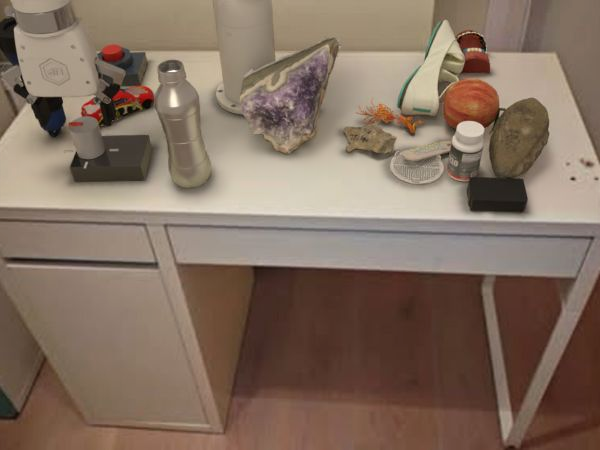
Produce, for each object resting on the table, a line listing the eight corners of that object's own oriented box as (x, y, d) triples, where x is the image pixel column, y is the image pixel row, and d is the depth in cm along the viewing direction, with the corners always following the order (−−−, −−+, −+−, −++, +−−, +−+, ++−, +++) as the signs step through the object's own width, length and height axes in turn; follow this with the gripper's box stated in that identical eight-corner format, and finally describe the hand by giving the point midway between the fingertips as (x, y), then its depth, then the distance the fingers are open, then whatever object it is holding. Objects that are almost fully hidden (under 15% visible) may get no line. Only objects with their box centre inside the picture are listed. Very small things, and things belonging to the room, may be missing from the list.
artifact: (354, 110, 110) (400, 125, 103) (358, 124, 112) (405, 139, 105) (326, 138, 107) (372, 155, 101) (331, 152, 109) (377, 169, 103)
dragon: (417, 141, 108) (417, 127, 105) (352, 127, 112) (351, 113, 108) (424, 121, 110) (425, 107, 107) (360, 108, 113) (359, 94, 110)
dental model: (457, 51, 117) (452, 24, 124) (452, 77, 120) (447, 49, 128) (497, 53, 116) (489, 26, 124) (490, 79, 120) (484, 51, 127)
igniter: (147, 62, 128) (143, 44, 125) (140, 85, 122) (136, 66, 119) (96, 64, 128) (91, 45, 125) (87, 86, 122) (81, 67, 119)
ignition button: (125, 52, 124) (123, 44, 122) (121, 62, 121) (119, 53, 120) (106, 52, 124) (104, 44, 123) (102, 62, 121) (99, 54, 120)
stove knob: (108, 141, 105) (100, 114, 101) (102, 159, 101) (93, 131, 98) (80, 142, 105) (71, 114, 101) (74, 159, 102) (64, 132, 98)
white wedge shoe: (433, 47, 126) (473, 58, 125) (392, 125, 112) (436, 139, 110) (442, 9, 120) (484, 20, 118) (398, 86, 106) (445, 100, 104)
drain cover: (388, 181, 100) (388, 177, 99) (391, 148, 106) (392, 143, 105) (443, 186, 99) (444, 181, 98) (443, 152, 105) (444, 147, 104)
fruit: (452, 98, 100) (517, 105, 100) (448, 62, 106) (509, 70, 107) (439, 141, 106) (500, 148, 106) (436, 105, 113) (493, 112, 113)
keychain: (450, 137, 107) (463, 145, 105) (450, 140, 107) (462, 148, 105) (398, 150, 102) (410, 158, 100) (398, 153, 103) (409, 162, 100)
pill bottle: (443, 164, 103) (450, 120, 97) (472, 161, 103) (481, 117, 97) (450, 183, 99) (458, 139, 94) (481, 181, 100) (490, 136, 94)
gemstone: (235, 127, 113) (249, 169, 102) (227, 38, 104) (242, 74, 93) (335, 114, 116) (359, 153, 106) (336, 27, 107) (363, 59, 96)
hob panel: (153, 148, 108) (149, 132, 106) (144, 182, 102) (140, 166, 100) (76, 149, 108) (71, 134, 106) (62, 183, 102) (56, 168, 100)
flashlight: (81, 116, 115) (47, 9, 101) (83, 142, 110) (47, 33, 96) (34, 124, 114) (-7, 17, 100) (34, 151, 108) (-10, 41, 94)
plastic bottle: (216, 166, 104) (199, 53, 90) (208, 194, 99) (188, 80, 85) (177, 165, 105) (153, 52, 91) (166, 193, 100) (140, 79, 86)
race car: (147, 92, 120) (142, 72, 118) (161, 105, 117) (157, 85, 114) (79, 118, 115) (73, 98, 112) (92, 132, 112) (86, 112, 109)
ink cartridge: (520, 189, 98) (466, 187, 98) (523, 178, 96) (468, 176, 97) (525, 213, 94) (468, 211, 95) (528, 202, 93) (470, 200, 93)
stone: (539, 195, 96) (537, 153, 91) (478, 190, 100) (474, 149, 95) (558, 123, 106) (558, 82, 101) (502, 122, 110) (499, 82, 105)
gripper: (-29, 28, 84) (13, 136, 96) (105, 27, 84) (130, 135, 96) (-9, 2, 90) (28, 108, 102) (117, 1, 90) (139, 107, 101)
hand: (78, 121), depth 99 cm, fingers open, 9 cm apart
